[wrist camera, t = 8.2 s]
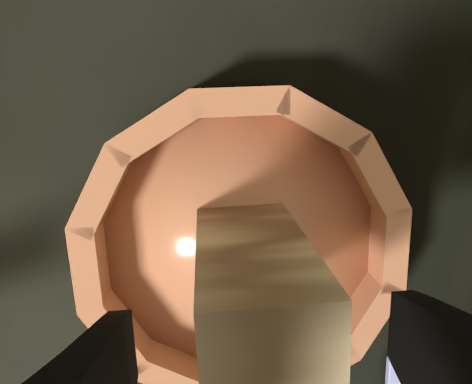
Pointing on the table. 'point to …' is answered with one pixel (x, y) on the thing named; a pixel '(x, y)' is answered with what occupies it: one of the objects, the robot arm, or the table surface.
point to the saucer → (226, 195)
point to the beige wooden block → (266, 302)
